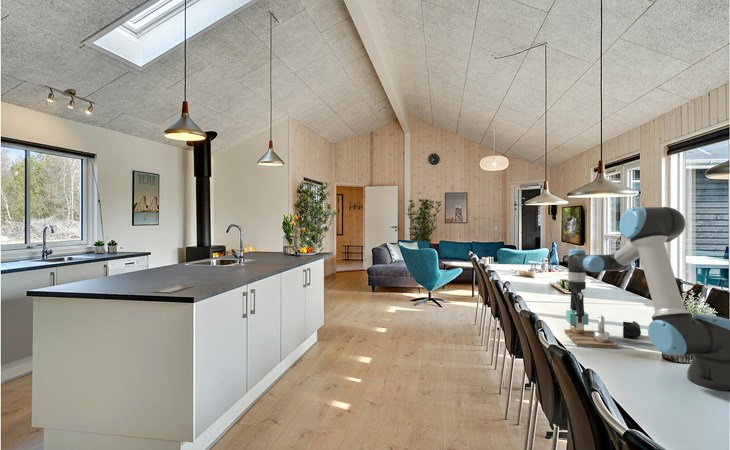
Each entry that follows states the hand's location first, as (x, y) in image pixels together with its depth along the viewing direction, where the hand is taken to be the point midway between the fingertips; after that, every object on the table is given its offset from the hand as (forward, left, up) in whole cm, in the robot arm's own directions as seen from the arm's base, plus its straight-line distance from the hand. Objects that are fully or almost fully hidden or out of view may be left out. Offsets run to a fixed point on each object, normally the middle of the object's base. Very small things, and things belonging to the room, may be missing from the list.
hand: (577, 327), depth 204 cm
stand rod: (-13, -7, -3) cm, 15 cm away
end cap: (+3, -25, -5) cm, 26 cm away
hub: (0, 0, -3) cm, 3 cm away
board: (-6, -3, -4) cm, 9 cm away
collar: (0, 0, +2) cm, 2 cm away
